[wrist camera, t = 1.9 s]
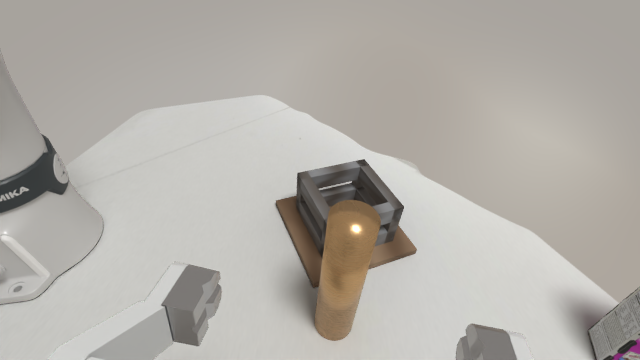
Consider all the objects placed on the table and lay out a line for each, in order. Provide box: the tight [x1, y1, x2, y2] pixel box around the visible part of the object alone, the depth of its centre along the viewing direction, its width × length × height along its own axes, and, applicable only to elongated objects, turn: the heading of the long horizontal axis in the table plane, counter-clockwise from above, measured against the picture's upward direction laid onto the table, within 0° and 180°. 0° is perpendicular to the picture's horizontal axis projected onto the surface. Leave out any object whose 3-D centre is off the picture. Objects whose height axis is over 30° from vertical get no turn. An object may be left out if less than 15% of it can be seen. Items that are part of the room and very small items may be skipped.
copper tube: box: [315, 200, 381, 341], centre depth 34 cm, size 4×4×18 cm
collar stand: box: [276, 159, 417, 288], centre depth 49 cm, size 16×16×8 cm
